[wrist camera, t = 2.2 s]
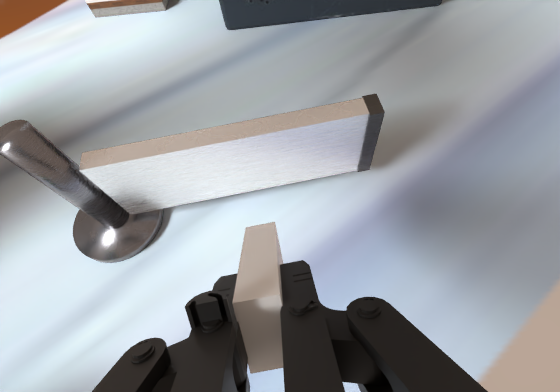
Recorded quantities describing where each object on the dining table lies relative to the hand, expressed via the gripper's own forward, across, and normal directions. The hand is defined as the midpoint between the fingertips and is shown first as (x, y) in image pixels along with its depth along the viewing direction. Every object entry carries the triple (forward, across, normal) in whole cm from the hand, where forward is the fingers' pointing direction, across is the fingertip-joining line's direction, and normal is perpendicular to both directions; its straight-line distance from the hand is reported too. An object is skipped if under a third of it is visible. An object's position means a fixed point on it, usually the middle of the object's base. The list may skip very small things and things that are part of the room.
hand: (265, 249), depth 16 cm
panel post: (+14, -14, -1) cm, 19 cm away
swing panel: (+12, -1, +1) cm, 12 cm away
